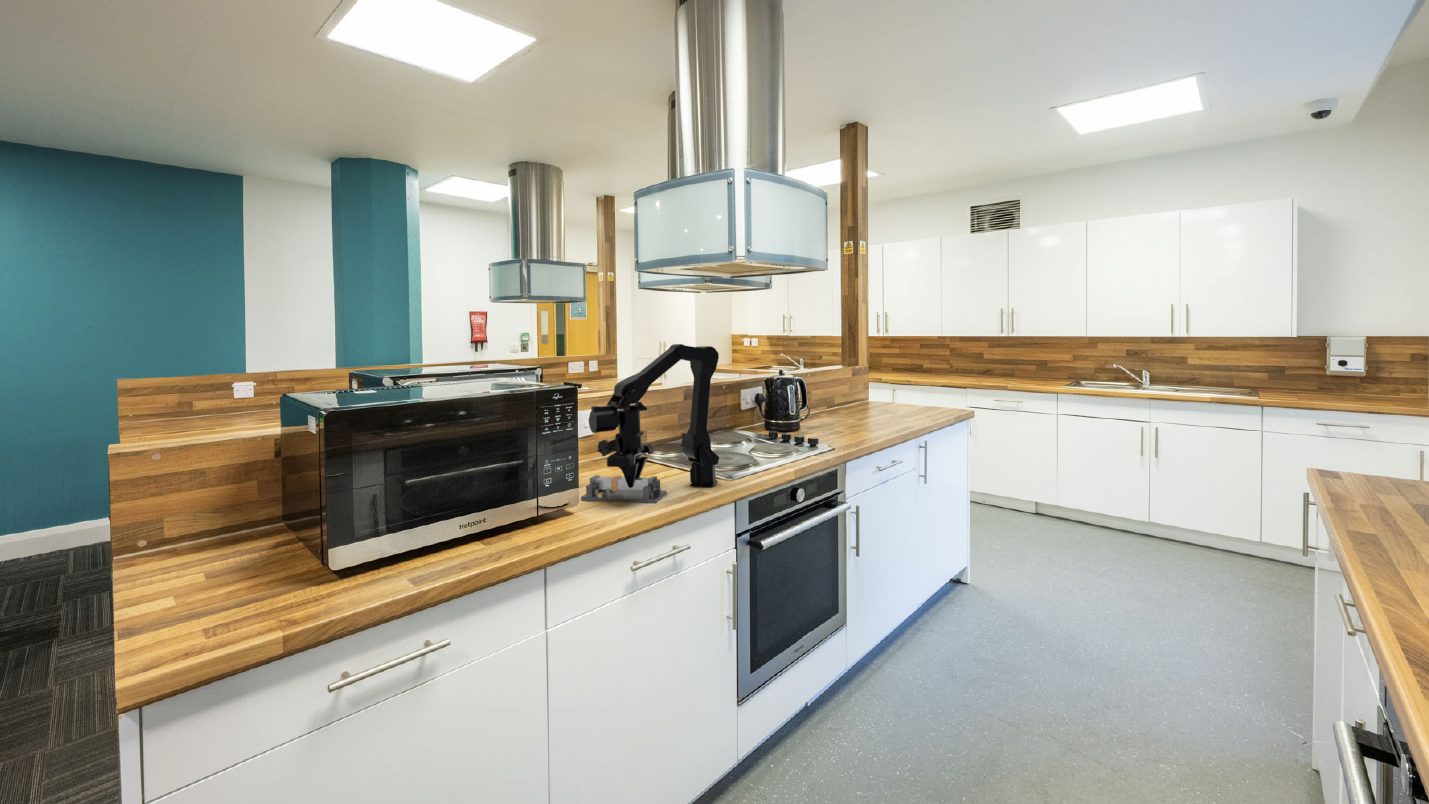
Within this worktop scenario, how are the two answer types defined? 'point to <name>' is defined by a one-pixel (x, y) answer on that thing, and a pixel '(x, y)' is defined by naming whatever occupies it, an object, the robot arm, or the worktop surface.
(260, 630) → the worktop surface
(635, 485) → the tube
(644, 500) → the cradle
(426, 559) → the worktop surface
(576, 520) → the worktop surface
